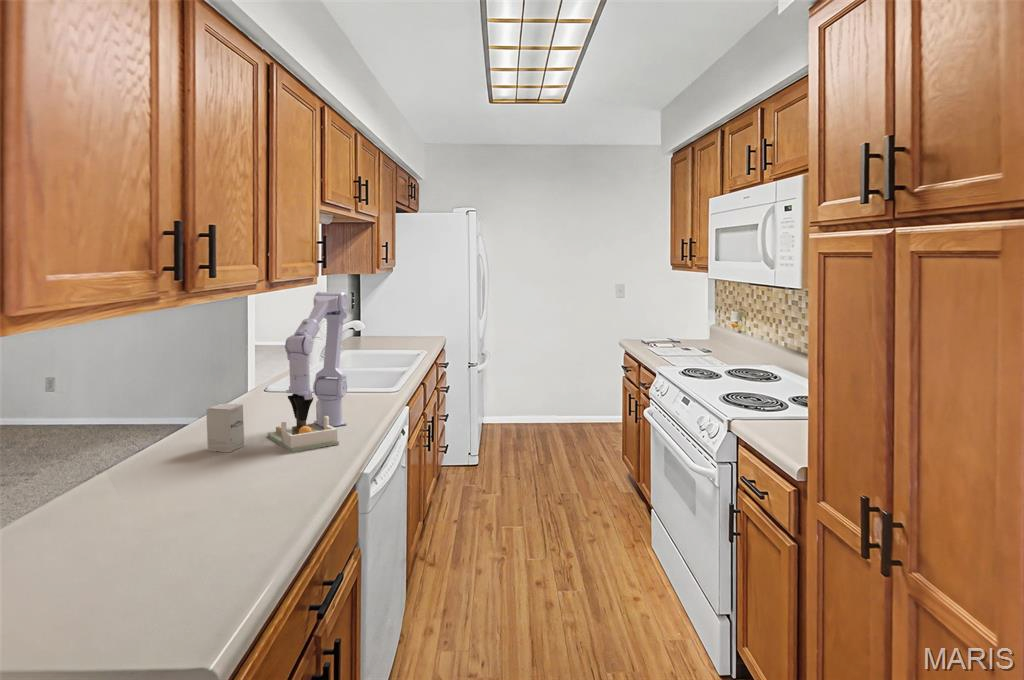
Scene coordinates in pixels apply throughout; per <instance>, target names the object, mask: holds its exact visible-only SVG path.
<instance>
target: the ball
mask: <svg viewBox="0 0 1024 680" xmlns="http://www.w3.org/2000/svg"><path fill="white" fill-rule="evenodd" d="M309 432H312V429H311V428H310V427H309V426H303V427H301V428H300V429H299V434H303V433H309Z"/></svg>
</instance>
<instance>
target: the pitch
mask: <svg viewBox="0 0 1024 680" xmlns="http://www.w3.org/2000/svg"><path fill="white" fill-rule="evenodd" d="M311 429H312V432H309V433H303V434H296V435H292V428H291V429H287V422H286V421H283V422H282V421H281V424H280V426H275V431H273V432H267V437H268V438H269V437H270V440H273V441H274V442H276V443H277V444H279V445H280V446H281V447H283V448H285V449H287V450H288V451H289V452H292V453H297V452H304V451H309V449H310V450H314V449H315V448H316V449H320V448H321V447H322V448H326V446H328V447H332V445H334V446H338V444H339V443H340V441H339V440H338V429H337V428H335V426H333V427H332V426H330V425H329V417H328V416H324V427H323V430H318V429H317V428H315V427H313V426H311ZM339 445H340V444H339Z"/></svg>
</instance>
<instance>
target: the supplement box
mask: <svg viewBox="0 0 1024 680" xmlns="http://www.w3.org/2000/svg"><path fill="white" fill-rule="evenodd" d="M205 414H206V433H207V434H206V435H207V437H206V438H207V451H209V452H216V451H219V453H231V452H233V451H235V450H237V449H239V448H242V446H243V447H244V446H245V431H244V429H245V428H244V425H245V424H244V423H245V422H244V404H240V403H219V404H217V405H216V404H215V405H212V406H210V407H207V408H206V410H205Z"/></svg>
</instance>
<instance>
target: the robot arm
mask: <svg viewBox="0 0 1024 680" xmlns="http://www.w3.org/2000/svg"><path fill="white" fill-rule="evenodd" d="M348 313H349V298H348V295H347V294H346V292H345V291H340V292H339V291H338V292H337V291H336V292H334V291H331V292H330V291H317V292H315V294H314V297H313V307H312V310H311V312H310V313H309V316H308V317H307V318H304V319H303V320H302V321H301V322H300V324H299V326H298V327H297V329H296V331H295V332H294V333H293V334H291V335H290V336H289V337H287V338H286V340H285V344H284V350H285V352H286V355H287V357H286V359H287V360H288V361H289V363H288V365H289V386H288V389H287V390H286V391H285V392H286V393H287V394H291V395H287V398H288V400H289V403H290V405H291V408H292V412H293V415H294V419H296V410H297V412H298V418H299V421H303V420H306V421H307V420H308V415H309V411H310V407H311V404H312V403H313V401H314V397H313V394H314V395H315V396H316V398H317V400H316V404H315V415H316V416H315V417H316V418H315V420H314V421H313V423H314V424H316V425H318V426H320V427H321V428H324V416H328V417H329V425H330V426H332V427H338V426H345V425H346V426H347V425H348V422H345V421H343V403H342V402H343V401H342V399H343V398H345V396H346V394H347V392H348V383H347V375H346V374H345V373H344V372H343V371H342V370H341V369H340V361H341V351H342V349H341V348H342V340H343V328H344V327H343V326H344V320H345V319H347V318H348ZM323 319H325V320H326V321H327V324H326V325H327V327H326V335H325V336H326V339H325V347H324V348H325V349H324V359H323V368H322V369H321V370H319V371H317V372H316V373H315V379H314V382H313V386H312V389H311V383H310V382H311V381H310V380H311V377H310V376H311V374H310V354H311V353H312V351H313V347H314V344H315V343H314V342H315V341H314V340H315V338H316V337H317V335H318V333H319V331H320V328H321V327H320V323H321V322H322V321H323ZM312 390H313V392H311V391H312Z"/></svg>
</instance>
